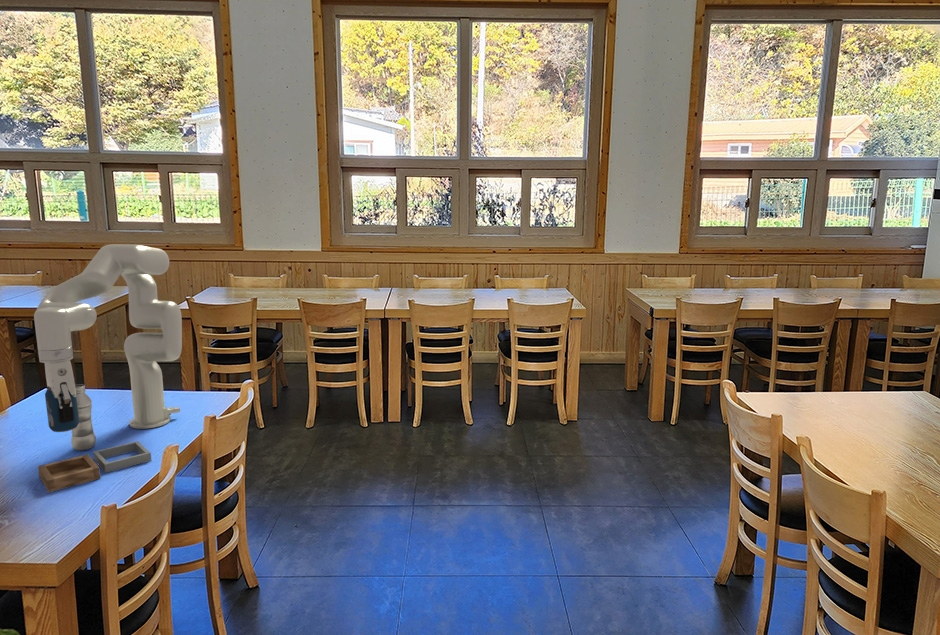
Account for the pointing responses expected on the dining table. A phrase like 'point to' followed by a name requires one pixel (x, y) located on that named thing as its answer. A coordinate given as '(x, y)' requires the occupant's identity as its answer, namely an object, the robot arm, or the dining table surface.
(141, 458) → the grey square frame
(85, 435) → the pale grey bottle
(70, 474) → the walnut holder
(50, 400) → the soda can
